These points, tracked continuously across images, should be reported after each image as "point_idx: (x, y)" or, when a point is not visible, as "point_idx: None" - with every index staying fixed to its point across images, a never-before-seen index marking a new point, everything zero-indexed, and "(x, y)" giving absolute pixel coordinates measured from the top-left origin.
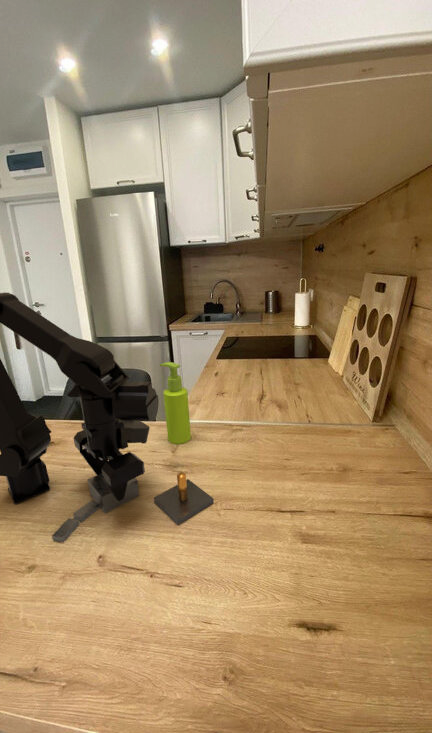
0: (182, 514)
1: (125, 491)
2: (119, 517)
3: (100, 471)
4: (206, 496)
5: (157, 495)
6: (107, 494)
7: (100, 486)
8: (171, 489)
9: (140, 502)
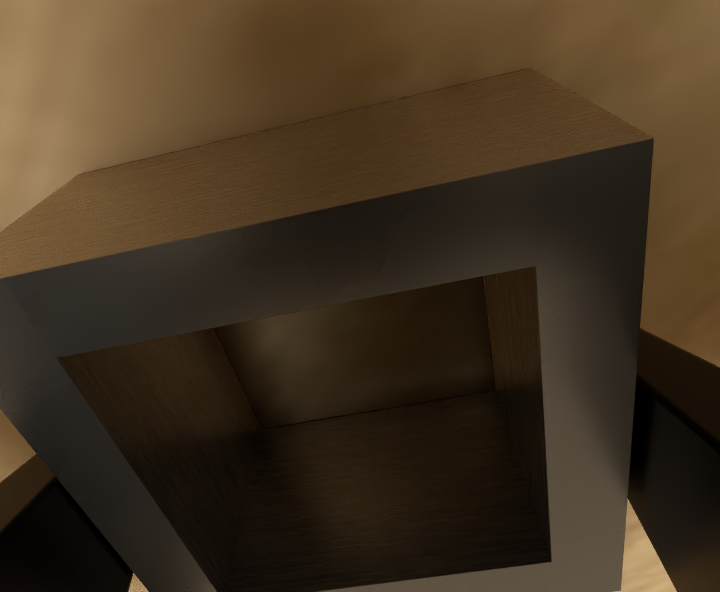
0: None
1: (696, 356)
2: (690, 335)
3: (90, 578)
4: None
5: None
6: (620, 550)
7: (230, 460)
8: None
9: (662, 93)
